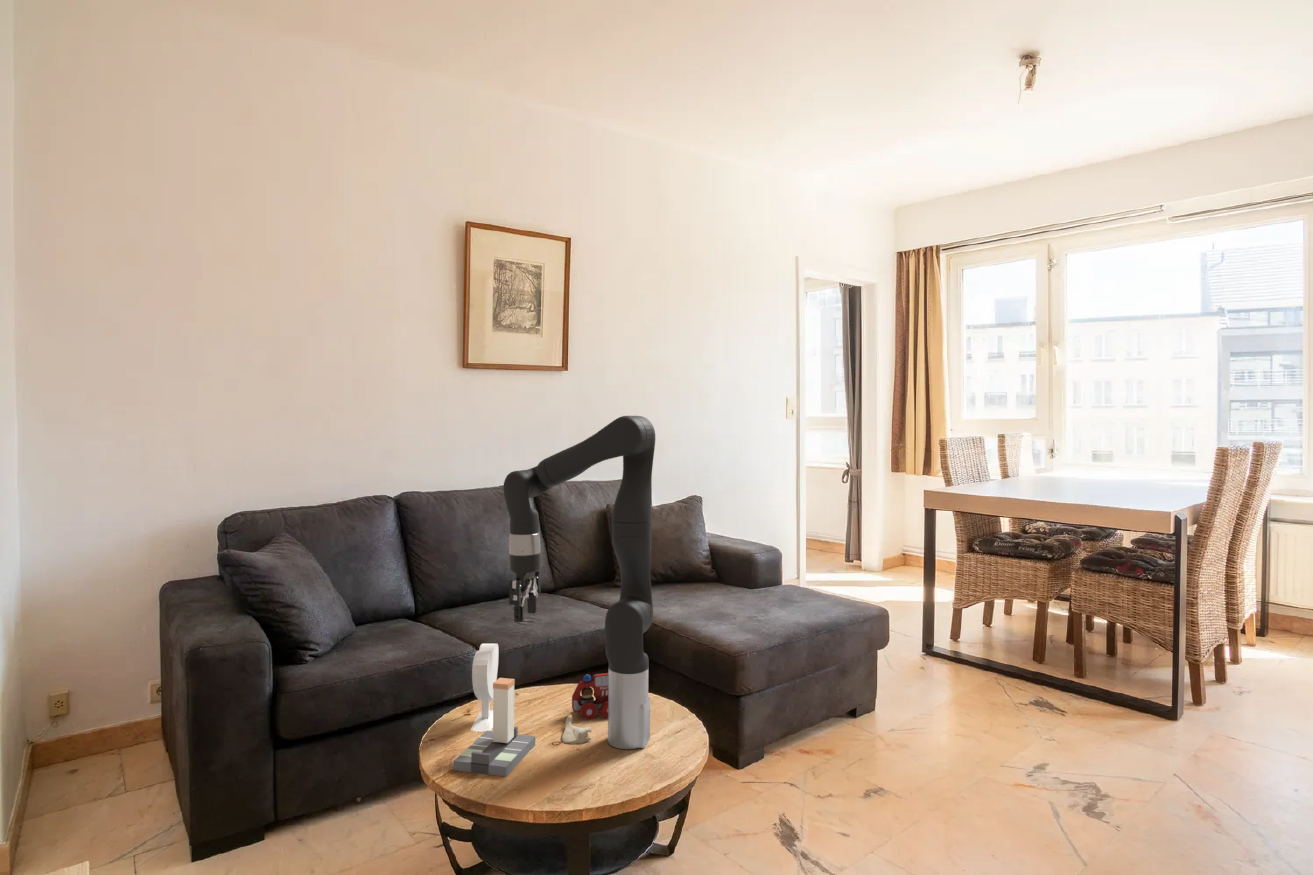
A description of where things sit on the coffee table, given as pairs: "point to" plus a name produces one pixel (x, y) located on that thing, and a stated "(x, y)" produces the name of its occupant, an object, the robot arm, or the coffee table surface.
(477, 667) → the heart sculpture
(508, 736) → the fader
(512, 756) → the console
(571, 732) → the fossil
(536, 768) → the coffee table surface
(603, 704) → the toy fire truck
